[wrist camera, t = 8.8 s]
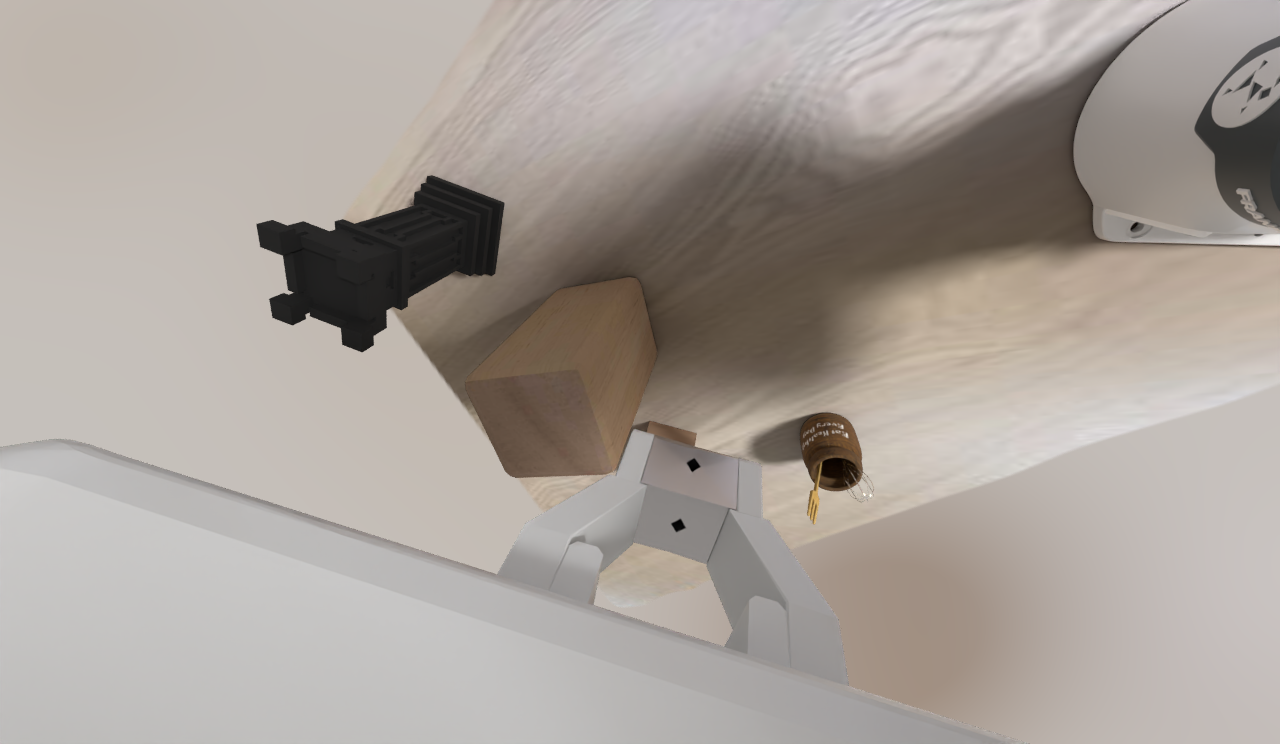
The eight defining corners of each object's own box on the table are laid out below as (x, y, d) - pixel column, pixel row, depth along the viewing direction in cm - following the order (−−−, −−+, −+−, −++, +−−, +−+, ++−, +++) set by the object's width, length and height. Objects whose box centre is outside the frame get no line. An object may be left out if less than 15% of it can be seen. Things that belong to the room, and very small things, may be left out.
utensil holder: (862, 441, 52) (890, 523, 41) (809, 458, 54) (823, 539, 44) (841, 403, 50) (865, 479, 40) (787, 422, 52) (796, 499, 42)
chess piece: (431, 175, 46) (249, 215, 29) (504, 202, 46) (363, 259, 29) (428, 248, 50) (268, 320, 34) (495, 273, 50) (367, 358, 34)
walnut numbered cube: (696, 433, 56) (691, 467, 51) (685, 467, 59) (679, 503, 54) (649, 420, 56) (639, 453, 51) (641, 455, 60) (631, 489, 54)
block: (580, 365, 54) (505, 483, 37) (554, 287, 50) (454, 381, 33) (660, 356, 51) (617, 479, 35) (640, 272, 47) (579, 366, 30)
